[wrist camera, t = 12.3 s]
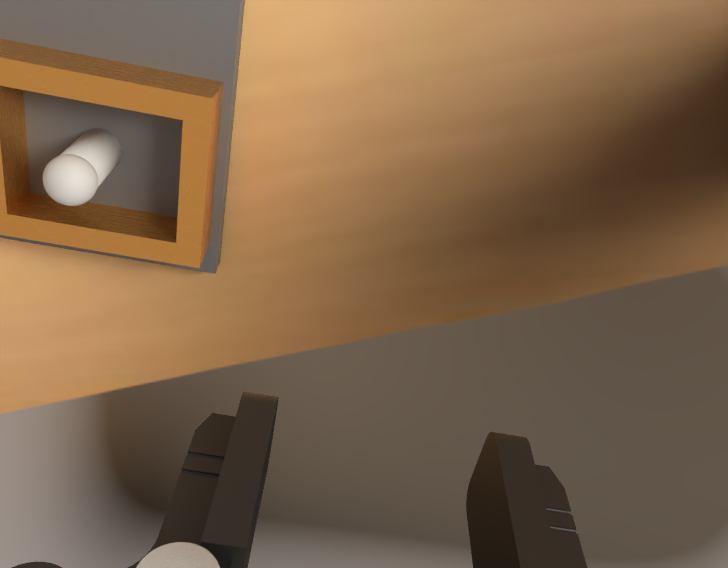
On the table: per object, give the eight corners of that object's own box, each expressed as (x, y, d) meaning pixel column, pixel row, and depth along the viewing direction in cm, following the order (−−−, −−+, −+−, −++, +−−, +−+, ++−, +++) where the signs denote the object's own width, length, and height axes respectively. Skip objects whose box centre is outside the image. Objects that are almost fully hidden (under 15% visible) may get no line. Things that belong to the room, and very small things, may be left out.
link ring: (223, 82, 36) (212, 98, 33) (209, 243, 41) (199, 268, 38) (-9, 36, 35) (-39, 50, 32) (7, 208, 40) (-17, 232, 37)
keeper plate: (248, -39, 34) (221, -19, 28) (219, 261, 43) (195, 326, 37) (-38, -100, 33) (-132, -93, 27) (-4, 223, 42) (-68, 285, 36)
